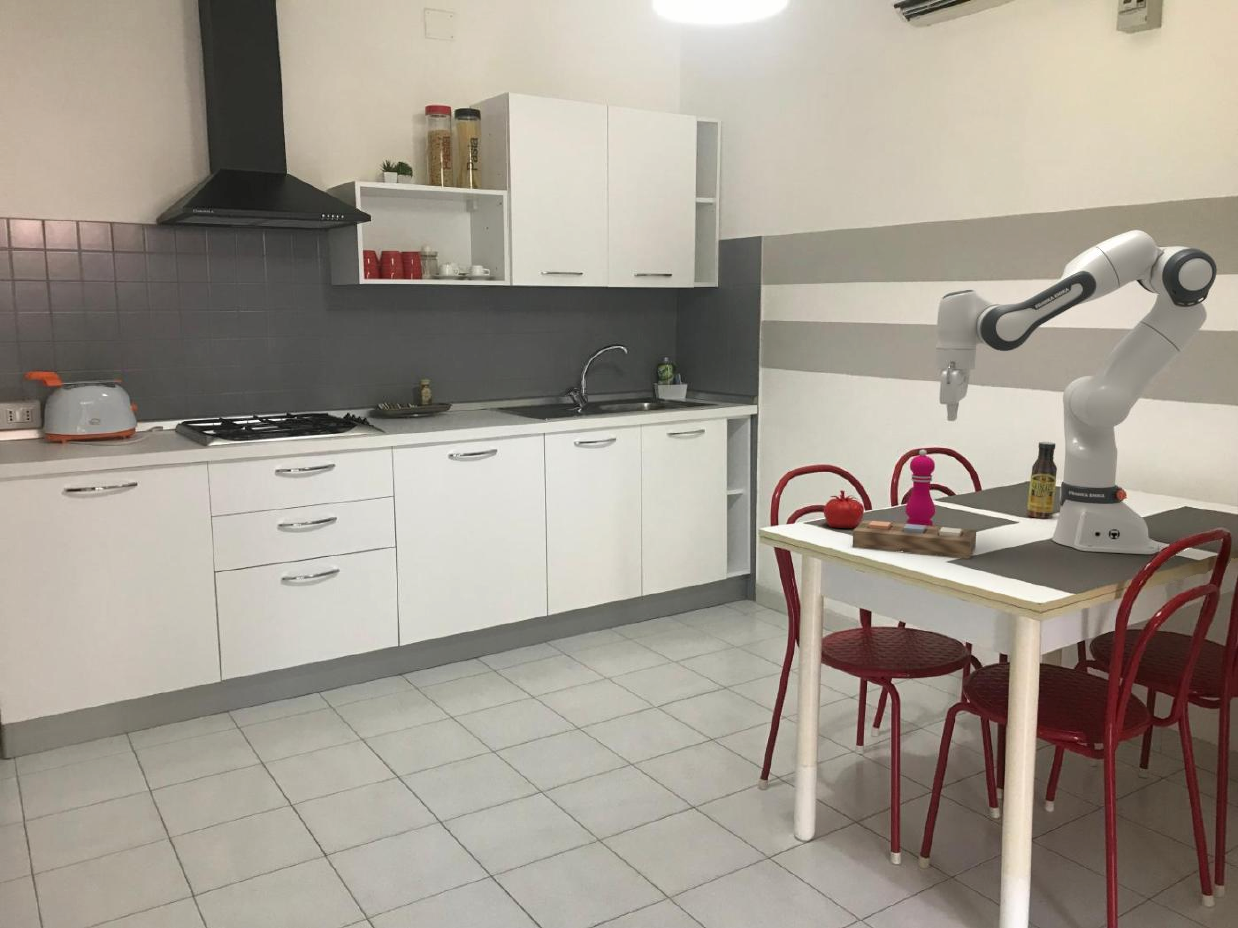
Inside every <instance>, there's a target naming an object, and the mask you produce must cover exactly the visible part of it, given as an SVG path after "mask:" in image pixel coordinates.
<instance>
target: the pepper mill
mask: <svg viewBox="0 0 1238 928" xmlns="http://www.w3.org/2000/svg"><path fill="white" fill-rule="evenodd" d="M918 453H919V455H917V456H914V457H913V458H912V459H911V461H910V462H909V469H910V471H911V472H912V474H911V481H912V483H913V485H912V491H911V495H910V497H909V499H908V501H907V502H906V506H905V514H906V515H907V517H908V519H907V520H906V524H914V525H925V526H934V525H933V524H934V523H933V521H932V520H931V519H932V518H933V517H935V514H936V507H935V502H934V501H933V499H932V496H931V491H930V487H931V482H932V481H933V474H932V473H933V472H934V471H935V468H936V463H935V461H934V460H933V458H931V456H927V455H928V454H927V453H928V452H927V449H926V450H925V449H921V450H919V452H918Z"/></svg>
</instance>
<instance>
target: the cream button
mask: <svg viewBox="0 0 1238 928" xmlns="http://www.w3.org/2000/svg"><path fill="white" fill-rule="evenodd" d="M941 527H942V528H941V529H940V531H939V535H943V536H953V537H961V536H962V529H963V528H957V527H956V528H955V527H946V526H945V527H944V526H941Z"/></svg>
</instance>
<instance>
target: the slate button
mask: <svg viewBox="0 0 1238 928" xmlns="http://www.w3.org/2000/svg"><path fill="white" fill-rule="evenodd" d="M905 524H906V525H905V527H904V528H903V532H911V533H921V534H925V532H926V526H925V525H914V524H907V523H905Z"/></svg>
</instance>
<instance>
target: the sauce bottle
mask: <svg viewBox="0 0 1238 928" xmlns="http://www.w3.org/2000/svg"><path fill="white" fill-rule="evenodd" d="M1055 449H1056V443H1055V442H1049V441H1039V442H1038V456H1037V458H1036V459H1035V461H1034V463H1033V465H1032V466H1031V467H1032V468H1031V476H1030V481H1029V482H1030V483H1029V491H1028V501H1027V507H1026V508H1027V512H1026V513H1027V515H1028V516H1029V517H1032V518H1035V519H1049V518H1052V515H1053V510H1054V500H1055V492H1056V484H1057V483H1056V482H1057V471H1058V467H1057V465H1056V463H1055V461H1054V454H1055Z"/></svg>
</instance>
